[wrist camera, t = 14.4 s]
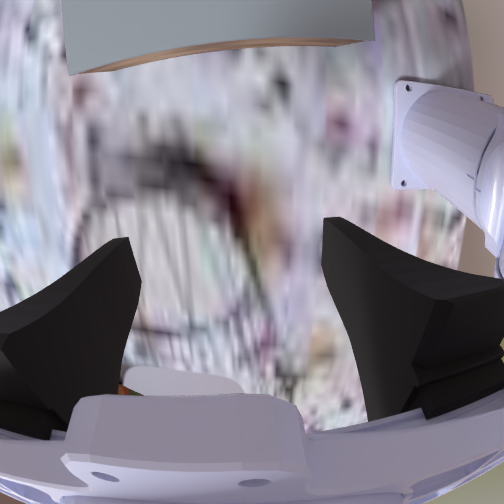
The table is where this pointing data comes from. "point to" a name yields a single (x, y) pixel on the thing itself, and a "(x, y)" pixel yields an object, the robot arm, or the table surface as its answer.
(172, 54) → the box
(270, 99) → the table surface
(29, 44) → the table surface
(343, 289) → the robot arm
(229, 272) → the table surface
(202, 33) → the lid
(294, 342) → the table surface
